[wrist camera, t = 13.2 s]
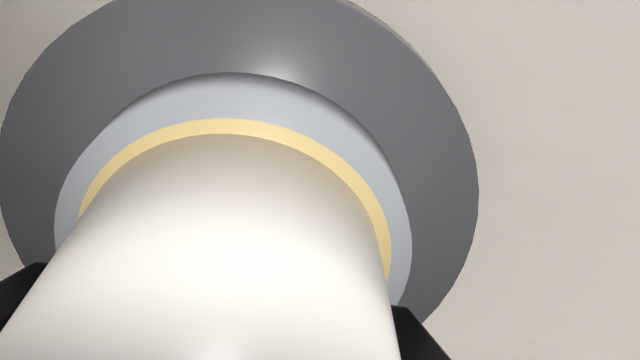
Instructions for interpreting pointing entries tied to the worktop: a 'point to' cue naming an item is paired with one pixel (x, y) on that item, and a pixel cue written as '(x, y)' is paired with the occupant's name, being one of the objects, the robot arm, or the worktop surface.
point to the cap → (212, 264)
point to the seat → (247, 120)
